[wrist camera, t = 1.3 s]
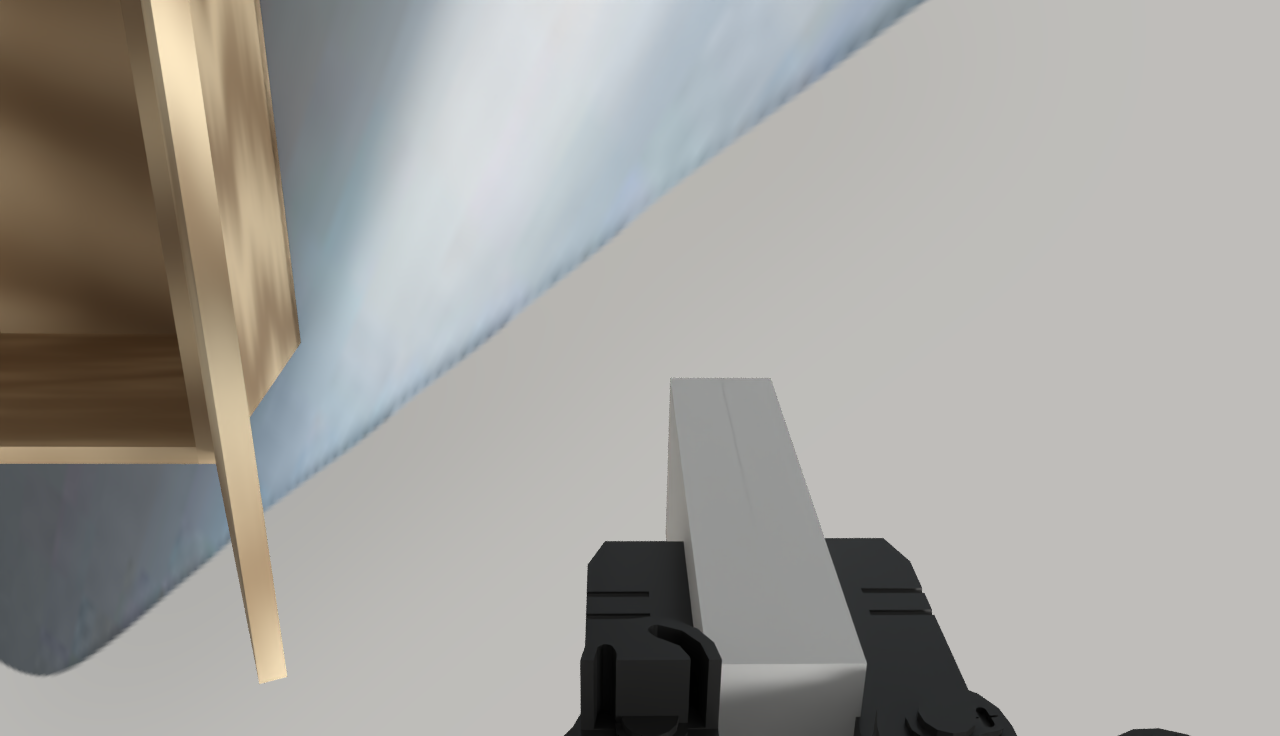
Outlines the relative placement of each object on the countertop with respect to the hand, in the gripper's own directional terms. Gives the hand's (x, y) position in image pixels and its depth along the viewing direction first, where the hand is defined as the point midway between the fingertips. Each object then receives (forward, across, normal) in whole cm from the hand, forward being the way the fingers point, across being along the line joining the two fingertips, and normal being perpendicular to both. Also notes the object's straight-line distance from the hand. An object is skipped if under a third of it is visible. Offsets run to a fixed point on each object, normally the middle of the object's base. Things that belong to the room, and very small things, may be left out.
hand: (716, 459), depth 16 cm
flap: (+10, -12, 0) cm, 15 cm away
